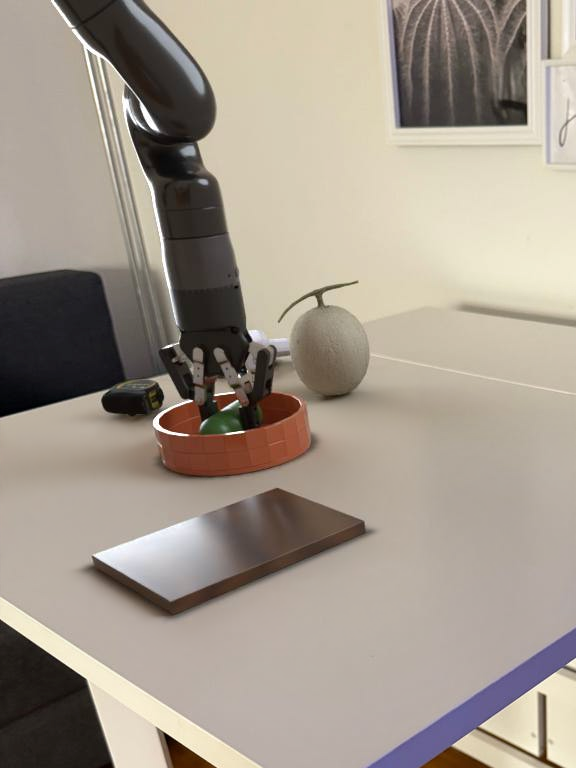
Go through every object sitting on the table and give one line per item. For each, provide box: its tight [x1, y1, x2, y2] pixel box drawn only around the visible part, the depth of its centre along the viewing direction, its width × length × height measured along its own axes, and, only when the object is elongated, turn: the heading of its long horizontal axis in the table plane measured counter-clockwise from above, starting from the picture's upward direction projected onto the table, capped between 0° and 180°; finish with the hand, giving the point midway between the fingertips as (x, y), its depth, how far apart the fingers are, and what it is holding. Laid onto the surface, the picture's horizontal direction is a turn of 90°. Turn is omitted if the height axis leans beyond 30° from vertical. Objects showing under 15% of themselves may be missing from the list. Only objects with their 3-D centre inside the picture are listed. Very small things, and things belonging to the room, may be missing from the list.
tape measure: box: [100, 378, 165, 418], centre depth 124 cm, size 7×7×4 cm
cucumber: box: [199, 400, 262, 435], centre depth 108 cm, size 11×4×4 cm, turn 166°
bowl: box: [152, 390, 312, 477], centre depth 108 cm, size 17×17×4 cm
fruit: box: [277, 279, 371, 397], centre depth 123 cm, size 10×12×15 cm
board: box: [91, 487, 367, 615], centre depth 84 cm, size 20×14×1 cm
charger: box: [217, 329, 290, 378], centre depth 142 cm, size 5×9×15 cm
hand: (233, 434), depth 108 cm, fingers closed on cucumber, 4 cm apart
